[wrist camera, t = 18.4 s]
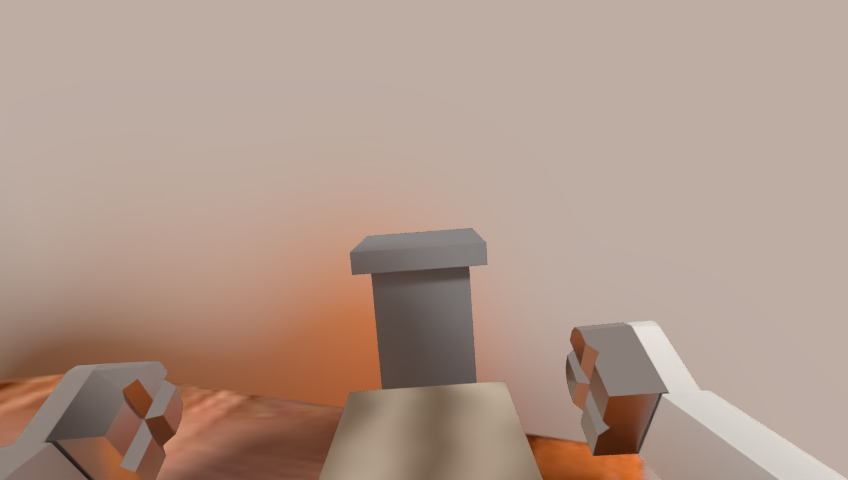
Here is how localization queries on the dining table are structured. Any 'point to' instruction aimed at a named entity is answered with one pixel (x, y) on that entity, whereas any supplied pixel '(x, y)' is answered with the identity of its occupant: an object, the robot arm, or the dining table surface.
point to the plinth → (422, 304)
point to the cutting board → (431, 436)
